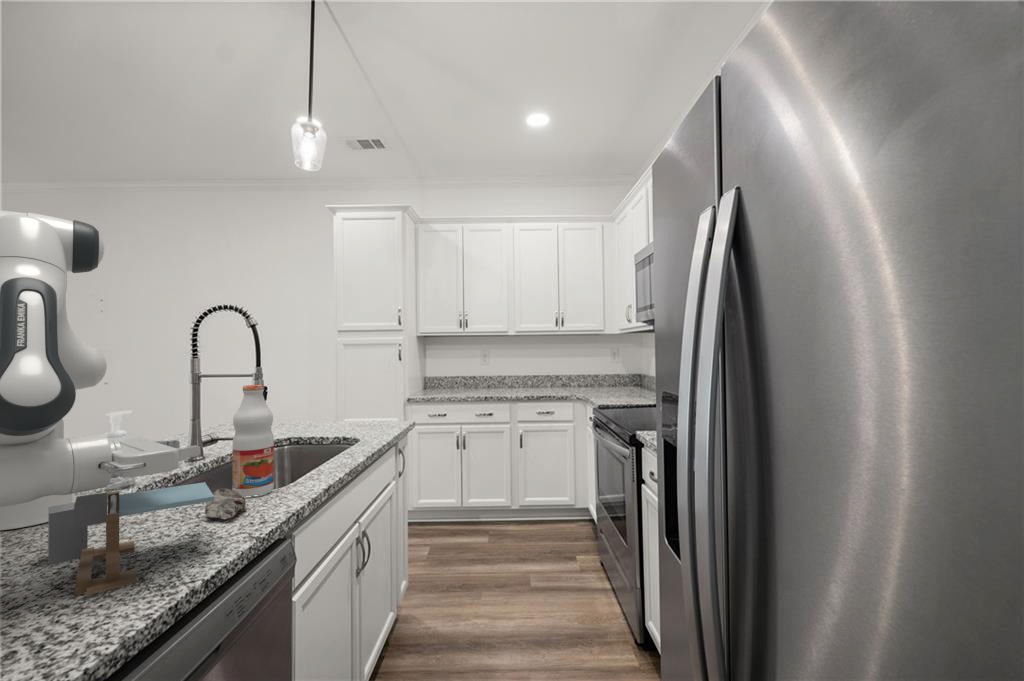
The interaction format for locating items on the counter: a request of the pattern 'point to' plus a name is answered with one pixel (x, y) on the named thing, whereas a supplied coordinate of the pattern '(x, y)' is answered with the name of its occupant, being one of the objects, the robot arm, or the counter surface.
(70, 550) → the basalt block
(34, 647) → the counter surface
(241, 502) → the mineral rock
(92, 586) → the post frame
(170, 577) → the counter surface
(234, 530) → the counter surface
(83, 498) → the trapdoor
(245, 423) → the fruit juice
